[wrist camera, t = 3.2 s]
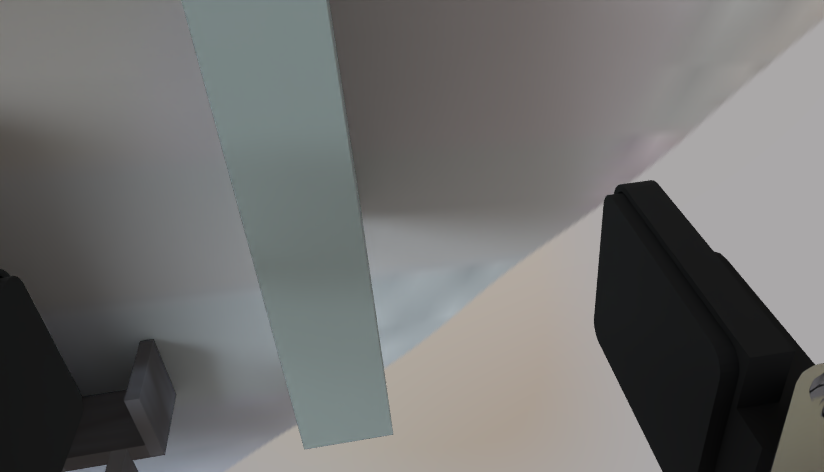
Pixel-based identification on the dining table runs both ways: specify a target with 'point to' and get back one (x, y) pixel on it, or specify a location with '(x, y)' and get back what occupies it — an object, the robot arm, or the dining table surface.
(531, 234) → the dining table surface
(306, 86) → the grey flat block
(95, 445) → the cabinet
